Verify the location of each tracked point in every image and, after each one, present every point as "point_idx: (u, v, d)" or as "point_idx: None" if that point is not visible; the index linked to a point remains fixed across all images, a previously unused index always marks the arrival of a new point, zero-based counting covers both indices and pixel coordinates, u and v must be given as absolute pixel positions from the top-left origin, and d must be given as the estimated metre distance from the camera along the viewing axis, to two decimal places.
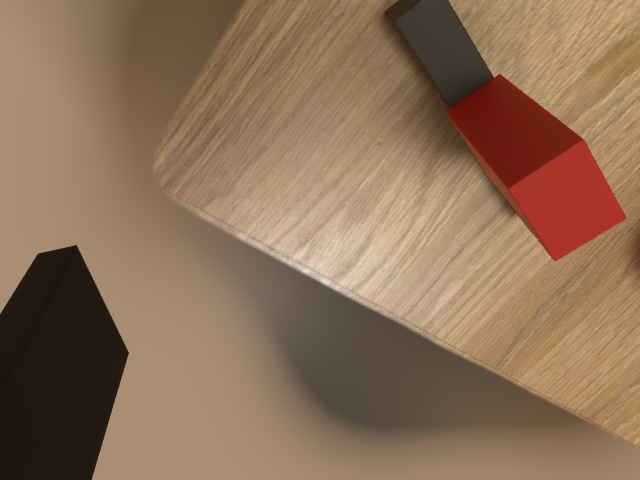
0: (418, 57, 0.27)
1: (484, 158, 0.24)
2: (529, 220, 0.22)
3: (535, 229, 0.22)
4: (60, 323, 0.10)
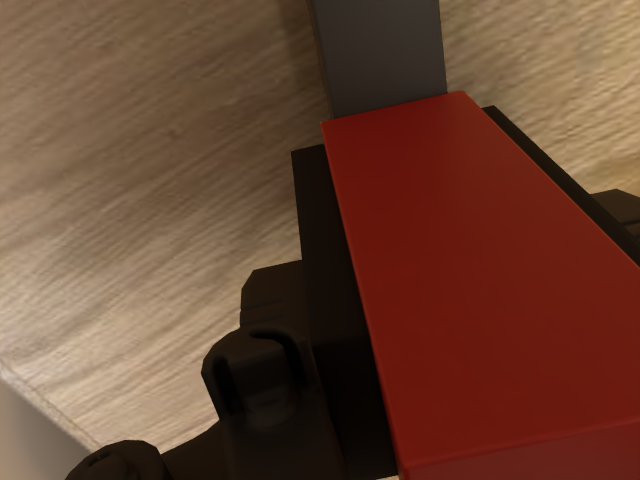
0: None
1: (361, 279, 0.07)
2: None
3: None
4: None
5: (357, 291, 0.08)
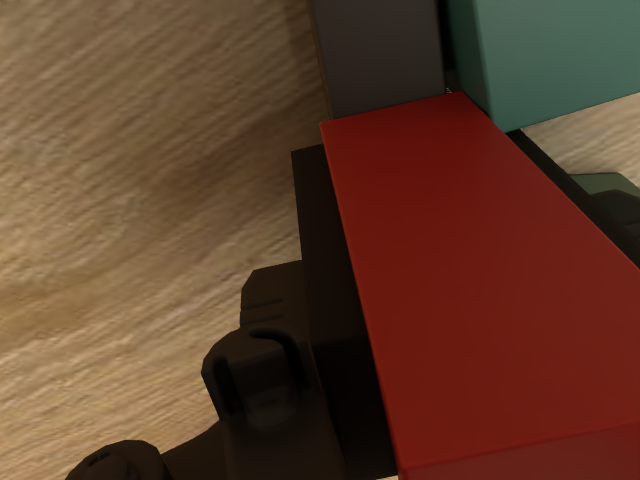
0: None
1: (360, 280, 0.07)
2: None
3: None
4: None
5: (357, 291, 0.08)
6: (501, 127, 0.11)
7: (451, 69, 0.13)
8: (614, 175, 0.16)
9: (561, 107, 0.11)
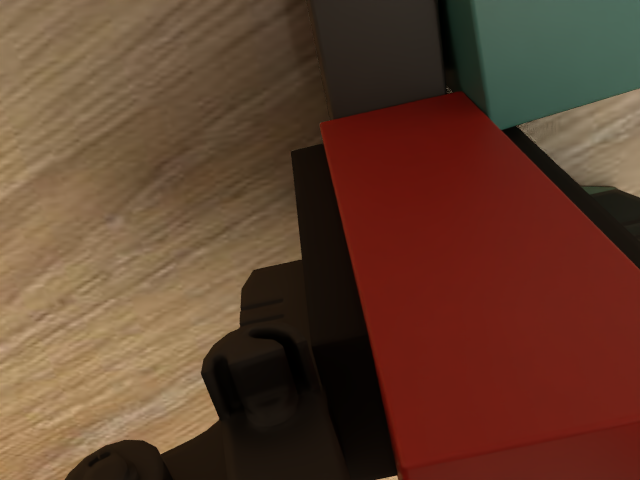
0: None
1: (360, 280, 0.07)
2: None
3: None
4: None
5: (357, 291, 0.08)
6: (498, 124, 0.11)
7: (449, 66, 0.13)
8: (610, 189, 0.16)
9: (558, 104, 0.11)
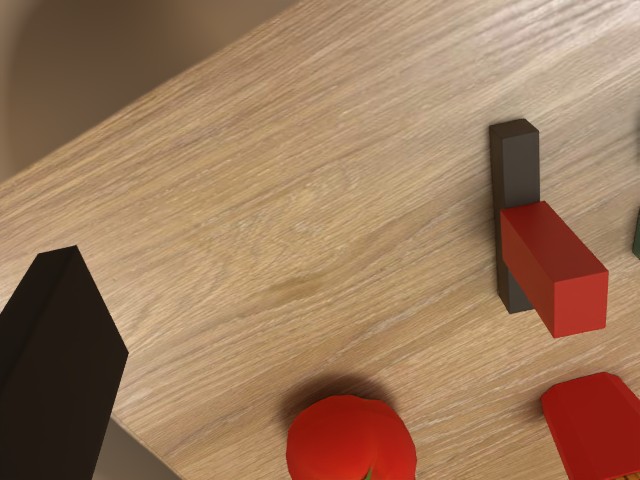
0: (503, 168, 0.38)
1: (535, 255, 0.35)
2: (554, 306, 0.33)
3: (554, 313, 0.33)
4: (60, 323, 0.10)
5: None
6: None
7: None
8: None
9: None
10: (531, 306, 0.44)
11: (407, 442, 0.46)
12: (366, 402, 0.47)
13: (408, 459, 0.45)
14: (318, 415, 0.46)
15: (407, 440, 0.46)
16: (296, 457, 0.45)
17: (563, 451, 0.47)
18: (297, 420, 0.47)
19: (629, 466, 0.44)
